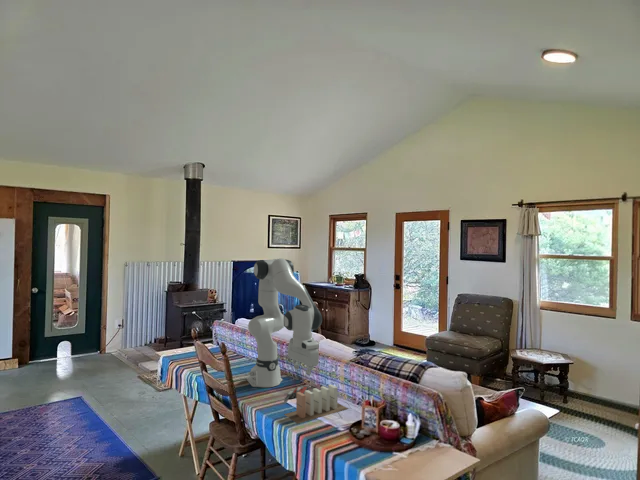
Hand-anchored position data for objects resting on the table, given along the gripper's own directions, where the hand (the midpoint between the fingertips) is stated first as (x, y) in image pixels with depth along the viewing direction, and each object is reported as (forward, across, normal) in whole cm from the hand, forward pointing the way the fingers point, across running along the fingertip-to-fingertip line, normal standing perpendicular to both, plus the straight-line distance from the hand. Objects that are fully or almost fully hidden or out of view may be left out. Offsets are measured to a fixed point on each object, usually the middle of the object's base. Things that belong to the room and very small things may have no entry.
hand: (302, 371), depth 194 cm
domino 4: (+20, +1, +13) cm, 24 cm away
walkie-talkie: (+22, -23, +12) cm, 34 cm away
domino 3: (+20, 0, +8) cm, 22 cm away
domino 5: (+20, +1, +17) cm, 26 cm away
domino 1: (+20, 0, -1) cm, 20 cm away
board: (+21, 0, +8) cm, 22 cm away
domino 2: (+20, 0, +4) cm, 20 cm away
